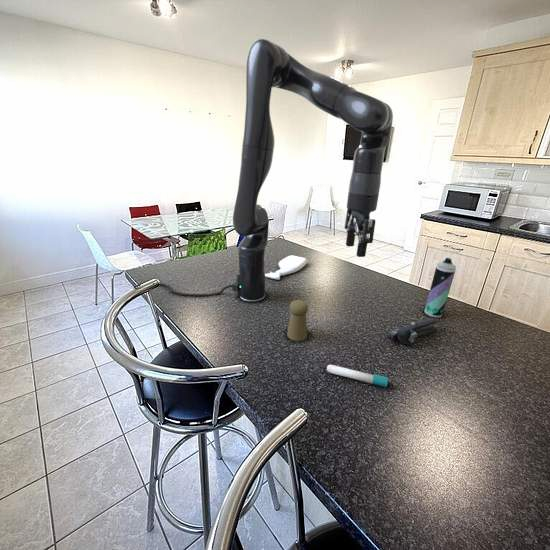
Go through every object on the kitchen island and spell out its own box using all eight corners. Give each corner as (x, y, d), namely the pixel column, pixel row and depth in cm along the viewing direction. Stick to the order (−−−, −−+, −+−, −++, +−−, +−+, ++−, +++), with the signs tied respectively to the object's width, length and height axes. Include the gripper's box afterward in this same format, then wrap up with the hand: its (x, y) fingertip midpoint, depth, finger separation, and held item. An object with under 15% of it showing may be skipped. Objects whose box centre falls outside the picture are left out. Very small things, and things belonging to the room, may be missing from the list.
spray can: (421, 309, 102) (435, 255, 94) (436, 308, 102) (451, 255, 94) (430, 317, 97) (445, 261, 89) (445, 317, 97) (462, 261, 89)
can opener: (403, 351, 80) (407, 335, 78) (384, 338, 86) (387, 321, 84) (444, 335, 88) (449, 319, 86) (424, 323, 94) (428, 308, 91)
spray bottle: (308, 264, 138) (282, 283, 119) (288, 259, 143) (260, 277, 124) (309, 258, 136) (282, 277, 118) (289, 254, 142) (260, 271, 123)
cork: (306, 342, 83) (308, 309, 79) (285, 339, 84) (286, 306, 80) (308, 330, 89) (310, 298, 84) (288, 327, 90) (290, 296, 85)
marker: (325, 373, 72) (326, 366, 71) (327, 368, 74) (328, 360, 73) (386, 389, 68) (388, 382, 67) (386, 383, 70) (388, 375, 69)
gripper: (340, 187, 80) (334, 243, 87) (360, 195, 67) (350, 260, 74) (366, 187, 81) (358, 242, 88) (390, 195, 68) (378, 260, 75)
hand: (354, 251), depth 81 cm, fingers open, 8 cm apart
